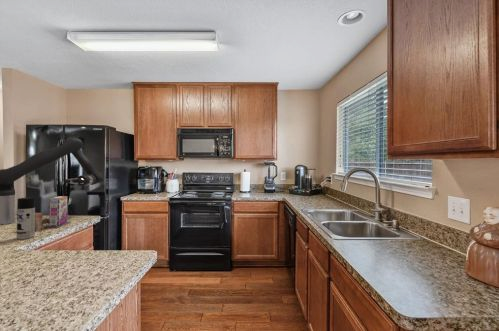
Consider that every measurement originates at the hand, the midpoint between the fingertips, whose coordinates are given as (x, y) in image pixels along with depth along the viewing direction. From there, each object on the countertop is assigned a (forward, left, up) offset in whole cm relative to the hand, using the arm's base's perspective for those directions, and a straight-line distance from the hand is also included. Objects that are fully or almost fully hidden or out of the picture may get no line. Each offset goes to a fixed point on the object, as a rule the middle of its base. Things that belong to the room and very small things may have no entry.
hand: (71, 181), depth 162 cm
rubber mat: (0, -14, -25) cm, 29 cm away
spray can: (0, -39, -26) cm, 47 cm away
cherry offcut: (-6, -23, -21) cm, 32 cm away
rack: (-7, -17, -25) cm, 31 cm away
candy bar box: (0, -14, -25) cm, 28 cm away
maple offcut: (-6, -23, -25) cm, 35 cm away
